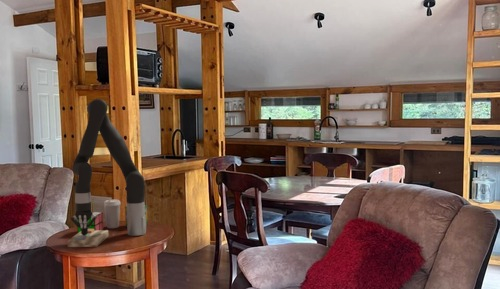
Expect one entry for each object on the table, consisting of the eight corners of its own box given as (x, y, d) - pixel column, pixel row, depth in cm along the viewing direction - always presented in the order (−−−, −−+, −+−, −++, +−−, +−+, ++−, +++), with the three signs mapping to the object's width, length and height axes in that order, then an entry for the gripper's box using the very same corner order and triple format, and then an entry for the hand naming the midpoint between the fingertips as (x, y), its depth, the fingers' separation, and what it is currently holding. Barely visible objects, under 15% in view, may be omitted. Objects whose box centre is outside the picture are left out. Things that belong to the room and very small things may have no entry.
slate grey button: (86, 238, 211) (85, 235, 211) (83, 241, 207) (82, 237, 207) (77, 239, 211) (77, 235, 210) (74, 241, 207) (74, 237, 206)
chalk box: (136, 228, 238) (135, 202, 237) (124, 226, 243) (124, 200, 242) (148, 224, 246) (147, 199, 245) (137, 222, 251) (136, 198, 249)
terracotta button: (94, 232, 223) (94, 228, 223) (91, 234, 219) (91, 230, 219) (86, 232, 223) (86, 228, 222) (83, 234, 219) (83, 230, 218)
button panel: (108, 235, 224) (108, 229, 224) (97, 246, 206) (96, 240, 206) (81, 236, 224) (81, 230, 223) (67, 247, 206) (67, 240, 206)
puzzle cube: (103, 229, 236) (103, 212, 235) (95, 234, 226) (94, 216, 226) (86, 229, 237) (85, 211, 236) (77, 234, 227) (76, 216, 227)
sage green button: (90, 237, 217) (90, 233, 217) (87, 239, 213) (87, 236, 213) (82, 237, 217) (82, 233, 217) (79, 239, 213) (79, 236, 213)
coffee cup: (108, 224, 247) (107, 199, 246) (124, 224, 246) (123, 199, 245) (101, 228, 238) (100, 202, 237) (117, 229, 237) (116, 202, 236)
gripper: (99, 199, 217) (100, 232, 218) (73, 199, 217) (74, 233, 218) (94, 202, 210) (95, 237, 211) (67, 203, 209) (68, 237, 211)
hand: (84, 235), depth 215 cm, fingers closed
